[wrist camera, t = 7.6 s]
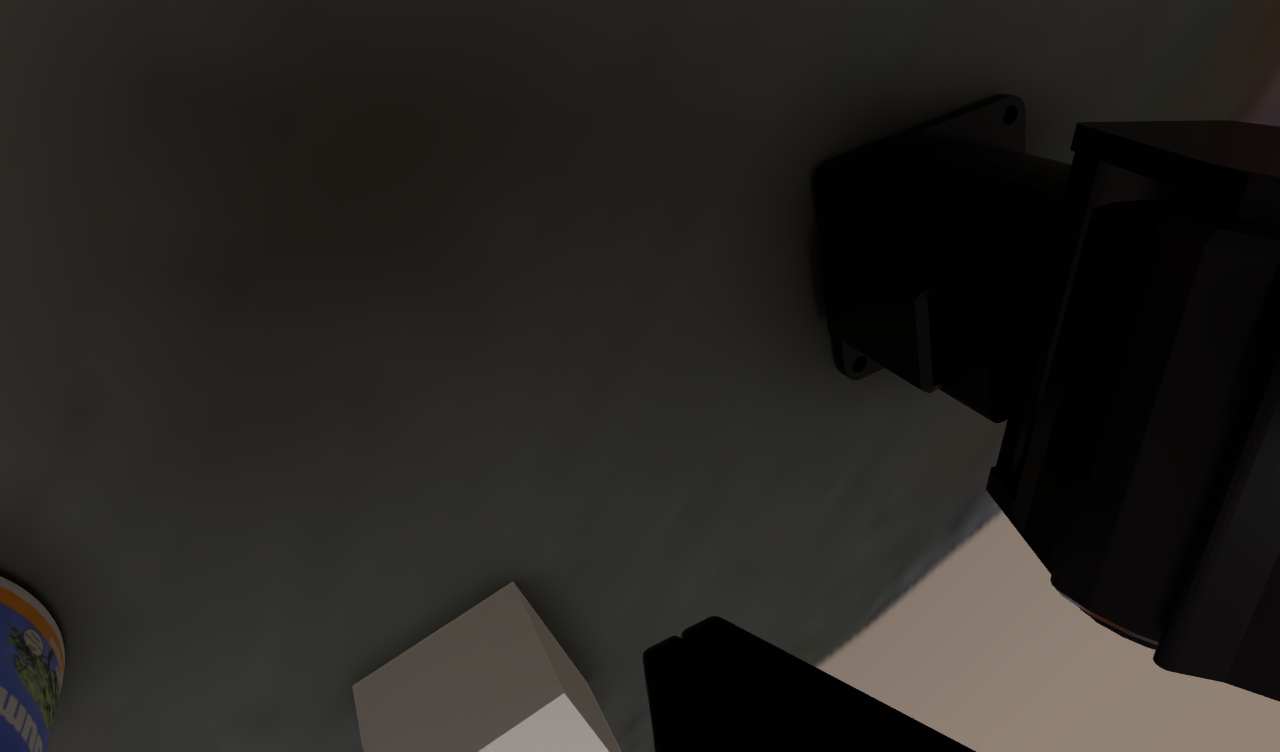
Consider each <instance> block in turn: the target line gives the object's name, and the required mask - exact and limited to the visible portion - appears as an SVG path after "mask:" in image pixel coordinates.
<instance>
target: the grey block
mask: <svg viewBox="0 0 1280 752" xmlns="http://www.w3.org/2000/svg"><path fill="white" fill-rule="evenodd" d="M352 689H353V694H354V700H355V706H356V712H357V718H358V724H359V730H360V735H361V741H362V747H363V752H622V751H621V749H620V747H619V745H618V743H617V741H616V739H615V737H614V735H613V733H612V731H611V729H610V727H609V725H608V723H607V721H606V719H605V717H604V715H603V713H602V711H601V709H600V707H599V705H598V703H597V701H596V699H595V697H594V695H593V693H592V691H591V689H590V687H589V685H588V683H587V682H586V680H585V679H584V677H583V676H582V675H581V673H580V672H579V671H578V669H577V668H576V666H575V665H574V664H573V662H572V661H571V660H570V658H569V657H568V656H567V654H566V653H565V651H564V650H563V649H562V647H561V646H560V645H559V643H558V642H557V641H556V639H555V638H554V636H553V635H552V634H551V632H550V631H549V630H548V628H547V627H546V625H545V624H544V623H543V621H542V620H541V619H540V617H539V616H538V615H537V613H536V612H535V610H534V609H533V608H532V606H531V605H530V604H529V602H528V601H527V599H526V598H525V597H524V595H523V594H522V593H521V591H520V590H519V589H518V587H517V586H516V584H515V583H514V582H513V581H512V582H511V583H509V584H508V585H506V586H505V587H503V588H502V589H500V590H499V591H497V592H496V593H494V594H492V595H491V596H489V597H488V598H486V599H485V600H483V601H482V602H480V603H479V604H477V605H476V606H474V607H472V608H471V609H469V610H468V611H466V612H465V613H463V614H462V615H460V616H459V617H457V618H456V619H454V620H453V621H451V622H449V623H448V624H446V625H445V626H443V627H442V628H440V629H439V630H437V631H436V632H434V633H433V634H431V635H429V636H428V637H426V638H425V639H423V640H422V641H420V642H419V643H417V644H416V645H414V646H413V647H411V648H409V649H408V650H406V651H405V652H403V653H402V654H400V655H399V656H397V657H396V658H394V659H393V660H391V661H389V662H388V663H386V664H385V665H383V666H382V667H380V668H379V669H377V670H376V671H374V672H373V673H371V674H370V675H368V676H366V677H365V678H363V679H362V680H360V681H359V682H357V683H356V684H354V685H353V686H352Z"/></svg>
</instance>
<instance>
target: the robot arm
mask: <svg viewBox="0 0 1280 752" xmlns="http://www.w3.org/2000/svg"><path fill="white" fill-rule="evenodd" d="M1006 108H1007V112H1006V116H1005V117H1004V119H1003V113H1004V111H1005V110H1006ZM1070 150H1072V151H1075V154H1074V158H1073V162H1072V165H1070V164H1066V163H1062V162H1058V161H1054V160H1050V159H1046V158H1042V157H1038V156H1033V155H1029V154H1025V107H1024V102H1023V101H1022V99H1021V98H1020V97H1017V96H1014V95H1008V94H1000V95H997V96H994V97H992V98H989V99H986V100H984V101H981V102H979V103H976V104H973V105H971V106H968V107H965V108H963V109H960V110H958V111H955V112H952V113H950V114H947V115H945V116H942V117H939V118H937V119H934V120H932V121H929V122H926V123H924V124H921V125H918V126H916V127H913V128H911V129H908V130H905V131H903V132H900V133H898V134H895V135H892V136H890V137H887V138H885V139H882V140H879V141H877V142H874V143H871V144H869V145H866V146H864V147H861V148H858V149H856V150H853V151H851V152H848V153H845V154H843V155H840V156H838V157H835V158H832V159H830V160H827V161H826V162H824V163H823V164H821V165H820V167H819V168H818V169H817V171H816V174H815V176H814V192H815V200H816V208H817V216H818V223H819V231H820V239H821V249H820V253H819V262H820V269H821V277H822V284H823V292H824V300H825V307H826V315H827V322H828V330H829V332H830V333H831V334H832V335H833V340H834V348H835V355H836V363H837V367H838V370H839V371H840V372H841V373H842V374H844V375H845V376H847V377H848V378H850V379H852V380H858V379H862V378H864V377H866V376H868V375H870V374H872V373H875V372H877V371H879V370H881V369H883V368H886V369H888V370H890V371H891V372H893V373H894V374H896V375H898V376H899V377H901V378H903V379H904V380H906V381H907V382H909V383H911V384H912V385H914V386H915V387H917V388H919V389H921V390H923V391H925V392H927V393H931V392H933V391H935V390H937V389H940V390H941V391H943V392H945V393H946V394H948V395H950V396H951V397H953V398H955V399H956V400H958V401H960V402H961V403H963V404H965V405H966V406H968V407H970V408H971V409H973V410H974V411H976V412H978V413H979V414H981V415H983V416H984V417H986V418H988V419H989V420H991V421H993V422H995V423H1000V422H1003V421H1005V420H1007V419H1008V420H1007V424H1006V428H1005V432H1004V436H1003V440H1002V444H1001V448H1000V452H999V456H998V460H997V464H996V466H995V467H992V468H991V470H990V474H989V478H988V482H987V486H986V490H987V491H988V493H989V494H990V495H991V497H992V498H993V499H994V501H995V502H996V503H997V504H998V506H999V507H1000V508H1001V510H1002V511H1003V512H1004V514H1005V515H1006V516H1007V517H1008V519H1009V520H1010V521H1011V523H1012V524H1013V525H1014V527H1015V528H1016V529H1017V530H1018V532H1019V533H1020V534H1021V536H1022V537H1023V538H1024V540H1025V541H1026V542H1027V544H1028V545H1029V546H1030V547H1031V549H1032V550H1033V551H1034V553H1035V554H1036V555H1037V556H1038V558H1039V559H1040V560H1041V562H1042V563H1043V564H1044V566H1045V567H1046V568H1047V570H1048V571H1049V572H1050V573H1051V583H1052V585H1053V586H1054V587H1055V588H1056V590H1057V591H1058V592H1059V593H1060V594H1061V595H1062V596H1063V597H1065V598H1066V599H1068V600H1069V601H1071V602H1072V603H1074V604H1075V605H1077V606H1078V607H1079V608H1080V609H1081V610H1082V611H1083V612H1085V613H1086V614H1087V615H1089V616H1090V617H1091V618H1092V619H1094V620H1095V621H1096V622H1097V623H1099V624H1100V625H1102V626H1104V627H1106V628H1108V629H1110V630H1111V631H1113V632H1115V633H1117V634H1118V635H1120V636H1122V637H1124V638H1127V639H1129V640H1131V641H1134V642H1136V643H1138V644H1141V645H1143V646H1145V647H1148V648H1151V649H1155V650H1156V651H1155V653H1154V656H1153V660H1154V662H1155V663H1156V664H1157V665H1158V666H1159V667H1161V668H1163V669H1165V670H1167V671H1171V672H1176V673H1181V674H1186V675H1190V676H1196V677H1200V678H1205V679H1210V680H1215V681H1220V682H1224V683H1227V684H1230V685H1233V686H1236V687H1239V688H1242V689H1245V690H1248V691H1251V692H1253V693H1256V694H1259V695H1263V696H1265V697H1268V698H1271V699H1274V700H1277V701H1280V127H1277V126H1270V125H1262V124H1254V123H1246V122H1238V121H1226V120H1216V121H1146V122H1080V123H1077V125H1076V129H1075V133H1074V137H1073V141H1072V145H1071V149H1070ZM836 173H838V181H837V183H836V185H835V186H834V187H832V188H831V186H830V184H831V179H832V177H833V176H834V175H835V174H836ZM857 357H858V361H857V362H856V364H855V365H853V366H852V363H853V362H854V360H855V359H856V358H857ZM643 665H644V673H645V680H646V688H647V696H648V703H649V711H650V718H651V726H652V734H653V741H654V749H655V752H976V751H974V750H972V749H970V748H968V747H966V746H964V745H962V744H960V743H959V742H957V741H955V740H953V739H951V738H949V737H947V736H945V735H943V734H941V733H939V732H938V731H936V730H934V729H932V728H930V727H928V726H926V725H924V724H922V723H921V722H919V721H917V720H915V719H913V718H911V717H909V716H907V715H905V714H903V713H902V712H900V711H898V710H896V709H894V708H892V707H890V706H888V705H886V704H884V703H883V702H881V701H879V700H877V699H875V698H873V697H871V696H869V695H867V694H865V693H863V692H861V691H860V690H858V689H856V688H854V687H852V686H850V685H848V684H846V683H844V682H842V681H841V680H838V679H837V678H835V677H833V676H831V675H829V674H827V673H825V672H824V671H822V670H820V669H818V668H816V667H814V666H812V665H810V664H808V663H806V662H805V661H803V660H801V659H799V658H797V657H795V656H793V655H791V654H789V653H787V652H786V651H784V650H782V649H780V648H778V647H776V646H774V645H772V644H770V643H768V642H766V641H765V640H763V639H761V638H759V637H757V636H755V635H753V634H751V633H749V632H747V631H746V630H744V629H742V628H740V627H738V626H736V625H734V624H732V623H730V622H728V621H727V620H725V619H723V618H721V617H717V616H711V617H709V618H707V619H705V620H703V621H701V622H699V623H697V624H695V625H693V626H691V627H689V628H687V629H685V630H684V631H683V632H682V634H681V638H680V637H678V636H672V637H669V638H667V639H666V640H664V641H662V642H660V643H658V644H656V645H654V646H652V647H650V648H648V649H646V650H645V652H644V653H643Z"/></svg>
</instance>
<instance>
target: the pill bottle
mask: <svg viewBox="0 0 1280 752" xmlns="http://www.w3.org/2000/svg"><path fill="white" fill-rule="evenodd" d="M64 668H65V650H64V644H63V639H62V636H61V633H60V631H59V629H58V626H57V624H56V622H55V621H54V619H53V618H52V616H51V615H50V613H49V612H48V611H47V609H46V608H45V607H44V606H43V605H42V604H41V603H40V602H39V601H38V600H37V599H36V598H35V597H33V596H32V595H31V594H30V593H29V592H27V591H26V590H24V589H23V588H22V587H20V586H18V585H16V584H15V583H13V582H11V581H9V580H7V579H5V578H3V577H1V576H0V752H46V750H47V746H48V741H49V737H50V733H51V729H52V725H53V721H54V717H55V713H56V709H57V704H58V700H59V696H60V692H61V688H62V682H63V675H64Z"/></svg>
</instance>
